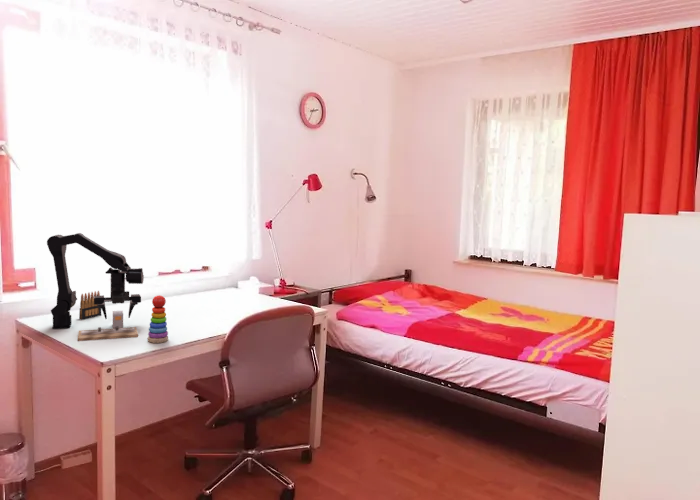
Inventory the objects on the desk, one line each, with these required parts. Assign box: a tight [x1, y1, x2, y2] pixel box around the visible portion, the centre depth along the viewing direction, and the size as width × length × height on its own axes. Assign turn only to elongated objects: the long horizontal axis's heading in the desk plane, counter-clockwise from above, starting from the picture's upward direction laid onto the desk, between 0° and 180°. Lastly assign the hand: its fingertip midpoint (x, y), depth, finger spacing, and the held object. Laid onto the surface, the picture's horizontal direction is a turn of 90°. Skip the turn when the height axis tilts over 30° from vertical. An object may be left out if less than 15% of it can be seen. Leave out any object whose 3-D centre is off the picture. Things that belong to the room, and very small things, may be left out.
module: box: [112, 310, 124, 329], centre depth 227 cm, size 4×7×6 cm, turn 26°
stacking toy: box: [146, 295, 169, 344], centre depth 209 cm, size 8×8×19 cm
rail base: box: [77, 326, 139, 342], centre depth 214 cm, size 22×12×3 cm, turn 116°
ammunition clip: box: [78, 290, 102, 321], centre depth 240 cm, size 11×2×12 cm, turn 157°
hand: (117, 318), depth 227 cm, fingers open, 9 cm apart
